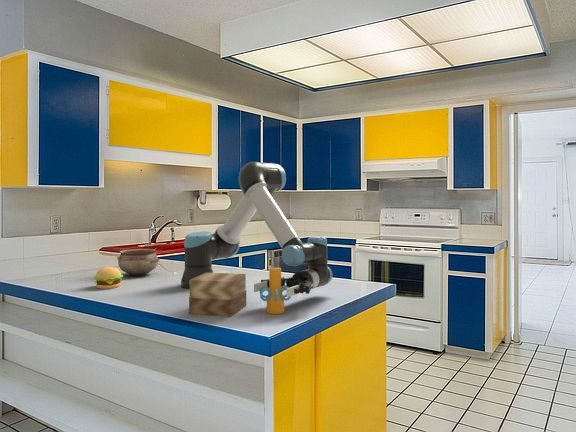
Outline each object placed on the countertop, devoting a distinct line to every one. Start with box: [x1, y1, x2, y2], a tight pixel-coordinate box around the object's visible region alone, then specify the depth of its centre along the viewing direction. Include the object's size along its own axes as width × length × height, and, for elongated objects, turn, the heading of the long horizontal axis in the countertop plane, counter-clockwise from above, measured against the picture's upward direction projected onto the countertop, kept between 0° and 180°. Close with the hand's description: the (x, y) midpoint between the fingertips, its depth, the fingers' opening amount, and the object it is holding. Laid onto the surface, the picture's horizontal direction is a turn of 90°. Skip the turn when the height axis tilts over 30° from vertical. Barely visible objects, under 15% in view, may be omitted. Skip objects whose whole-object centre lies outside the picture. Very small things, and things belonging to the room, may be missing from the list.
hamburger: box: [93, 266, 124, 290], centre depth 200 cm, size 12×12×9 cm
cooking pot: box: [116, 248, 161, 277], centre depth 229 cm, size 25×19×12 cm
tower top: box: [188, 272, 247, 300], centre depth 158 cm, size 15×15×6 cm
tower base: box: [188, 290, 247, 317], centre depth 159 cm, size 15×15×6 cm
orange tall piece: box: [259, 267, 292, 315], centre depth 155 cm, size 12×10×15 cm
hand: (270, 290), depth 153 cm, fingers open, 13 cm apart
